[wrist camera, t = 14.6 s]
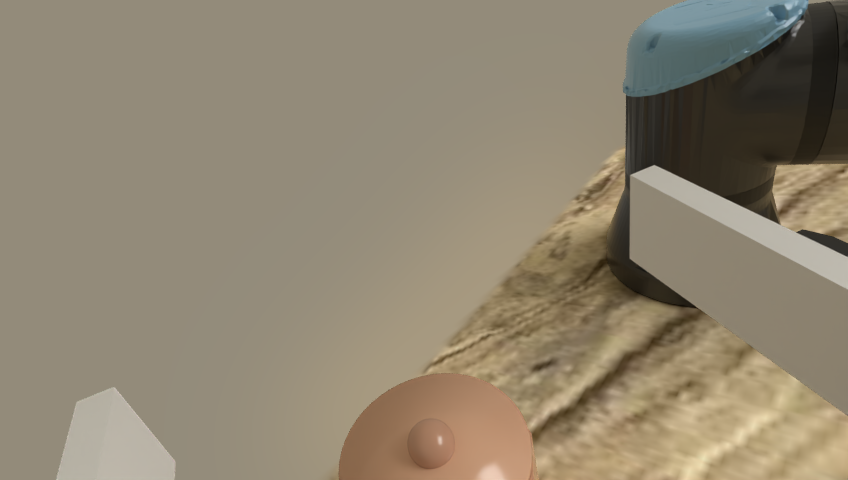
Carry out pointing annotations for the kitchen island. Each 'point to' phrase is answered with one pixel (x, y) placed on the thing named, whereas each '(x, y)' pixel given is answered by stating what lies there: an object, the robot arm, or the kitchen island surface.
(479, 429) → the lidded canister
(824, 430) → the kitchen island surface
